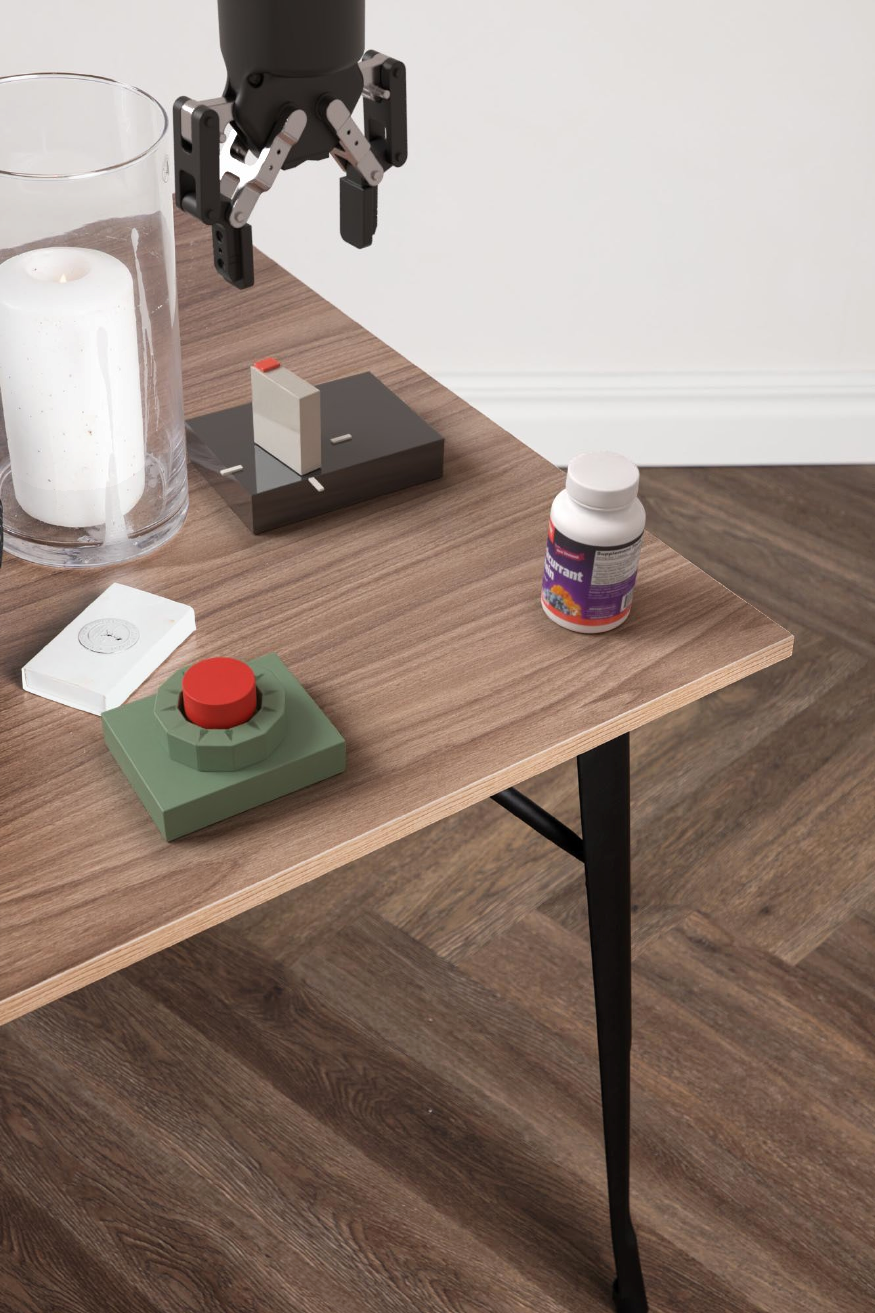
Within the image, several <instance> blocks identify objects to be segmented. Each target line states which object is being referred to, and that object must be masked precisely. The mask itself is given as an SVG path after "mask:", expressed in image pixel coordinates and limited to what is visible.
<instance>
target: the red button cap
mask: <svg viewBox="0 0 875 1313" xmlns="http://www.w3.org/2000/svg"><path fill="white" fill-rule="evenodd" d="M236 659H237V658H232V657H226V656H216V657H210V658H206V659H203V660H200V661H197V662H195V663H196V664H195V663H193V664H194V665H193V666H192V667H190V668H189V669H188V670H187V672H186V673H185V675H184V677H183V680H182V688H183V698H184V707H185V713H186V715H187V717H188V718H189V719H190V721H192V722H193V723H194V724H196V725H197V726H199V727H202V728H205V729H230V728H233V727H236V726H239V725H241V724H244V723H245V722H247V721H248V720H249V719H250V718H251V717H252V716H253V714H254V713H255V710H256V706H257V700H256V682H255V675H254V673H253V671H252V669H251V668H250V667H249V666H248V665H247V664H245V663H243V662H241V661H239V660H236Z"/></svg>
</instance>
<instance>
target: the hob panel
mask: <svg viewBox="0 0 875 1313" xmlns="http://www.w3.org/2000/svg"><path fill="white" fill-rule="evenodd" d="M313 386H314V387H315V388H317V389H318V390H320V413H321V467H320V468H318V469H316V470H313V471H311V472H309V473H306V474H304V475H300V474H299V473H297V472H296V471H294V470H293V469H292V468H290V467H289V466H287V465H286V464H285V463H283V462H282V461H280V460H279V459H278V458H276V457H275V456H273V455H272V454H270V453H269V452H268V451H266V450H265V449H263V448H262V447H261V446H259V445H258V444H256V443H255V442H254V426H253V407H252V401H251V402H247V403H244V404H240V405H236V406H232V407H229V408H225V409H221V410H218V411H214V412H209V413H206V414H202V415H199V416H195V417H191V418H188V419H184V430H185V441H186V452H187V459H188V460H189V461H190V463H191V464H192V465H193V466H194V468H195V469H196V470H197V471H198V472H199V473H200V474H201V476H202V477H203V478H204V479H205V480H206V481H207V483H208V484H209V485H210V486H211V487H212V488H213V490H214V491H215V492H216V493H217V494H218V495H219V497H220V498H221V499H222V500H223V501H224V502H225V503H226V505H227V506H228V507H229V508H230V509H231V510H232V511H233V513H234V514H235V515H236V516H237V517H238V518H239V519H240V521H241V522H242V524H244V526H246V528H247V529H248V530H249V531H250V532H251V533H252V534H253V536H254V535H258V534H261V533H262V534H263V533H265V532H267V531H270V530H274V529H278V528H280V527H284V526H287V525H290V524H294V523H296V522H300V521H303V520H307V519H309V518H313V517H317V516H320V515H323V514H325V513H329V512H333V511H335V510H339V509H342V508H346V507H348V506H352V505H355V504H358V503H361V502H365V501H368V500H372V499H374V498H377V497H381V496H384V495H387V494H388V495H389V494H390V493H394V492H396V491H400V490H404V489H407V488H410V487H413V486H417V485H420V484H422V483H426V482H430V481H432V480H436V479H439V478H443V477H444V461H445V445H446V444H445V442H446V438H445V437H444V436H443V435H442V434H441V433H440V432H439V431H437V429H435V428H434V427H433V426H431V424H430V423H429V422H427V421H426V420H425V419H424V417H421V416H420V415H419V414H418V413H417V412H416V411H415V410H413V408H412V407H410V406H409V405H408V404H407V403H406V402H405V401H404V400H403V399H402V398H400V397H399V396H398V395H397V394H396V393H395V392H394V391H393V390H392V389H391V388H389V387H388V386H387V385H386V384H384V382H382V381H381V380H380V379H379V378H378V377H376V375H375V374H373V373H372V371H369V370H368V371H364V372H361V373H357V374H353V375H349V376H346V377H342V378H338V379H334V380H330V381H326V382H323V383H319V384H316V385H313Z"/></svg>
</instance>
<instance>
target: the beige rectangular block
mask: <svg viewBox="0 0 875 1313" xmlns="http://www.w3.org/2000/svg"><path fill="white" fill-rule="evenodd" d="M250 384H251V385H250V386H251V400H252V401H251V402H252V407H253V426H254V442H255V443H256V444H258V445H259V446H261V447H262V448H263V449H265V450H266V451H268V452H269V453H270V454H272V455H273V456H275V457H276V458H278V459H279V460H280V461H282V462H283V463H285V464H286V465H287V466H289V467H290V468H292V469H293V470H294V471H296V472H297V473H299V474H300V475H304V474H306V473H309V472H311V471H313V470H316V469H318V468H320V467H321V413H320V390H318V389H317V388H315V387H314V386H315V385H312V384H311V383H309V382H308V381H306V380H304V379H303V378H301V377H300V376H298V375H297V374H296V373H294V372H292V371H291V370H289V369H288V368H286V367H285V366H283V365H282V364H281V362H280V361H278V360H276V359H275V358H273V357H272V356H270V357H267V358H264V359H262V360H259V361H256V362H254V363H253V365H250Z"/></svg>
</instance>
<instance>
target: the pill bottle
mask: <svg viewBox="0 0 875 1313" xmlns="http://www.w3.org/2000/svg"><path fill="white" fill-rule="evenodd" d="M640 475H641V474H640V470H639V467H638V466H637V465H636V464H635V463H634V461H633V460H631V459H629V458H628V457H626V456H624V455H622V454H619V453H615V452H611V451H602V450H594V451H588V452H583V453H581V454H579V455H576V456H575V457H574V458H572V459H571V461H569V463H568V466H567V471H566V479H565V488H563V490H561V491H559V493H558V494H557V495H556V496H555V498H554V500H553V501H552V504H551V507H550V513H549V514H550V515H549V522H548V523H549V524H548V531H547V540H546V548H545V556H544V565H543V572H542V573H543V574H542V582H541V590H540V603H541V606H542V609H543V611H544V613H545V614H546V616H547V617H548V618H549V619H550V620H551V621H552V622H554V623H555V624H556V625H558V626H560V627H561V628H564V629H566V630H569V631H573V632H576V633H581V634H582V633H583V634H598V633H604V632H608V631H611V630H613V629H615V628H616V629H617V627H619V626H621V625H622V624H623V623H624V622H625V621H626V619H627V618H628V616H629V615H630V612H631V608H632V603H633V598H634V592H635V588H636V581H637V575H638V569H639V564H640V558H641V551H642V546H643V540H644V534H645V528H646V521H647V520H646V519H647V518H646V517H647V515H646V510H645V507H644V505H643V503H642V502H641V500H640V499H639V497H638V492H639V484H640Z"/></svg>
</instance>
